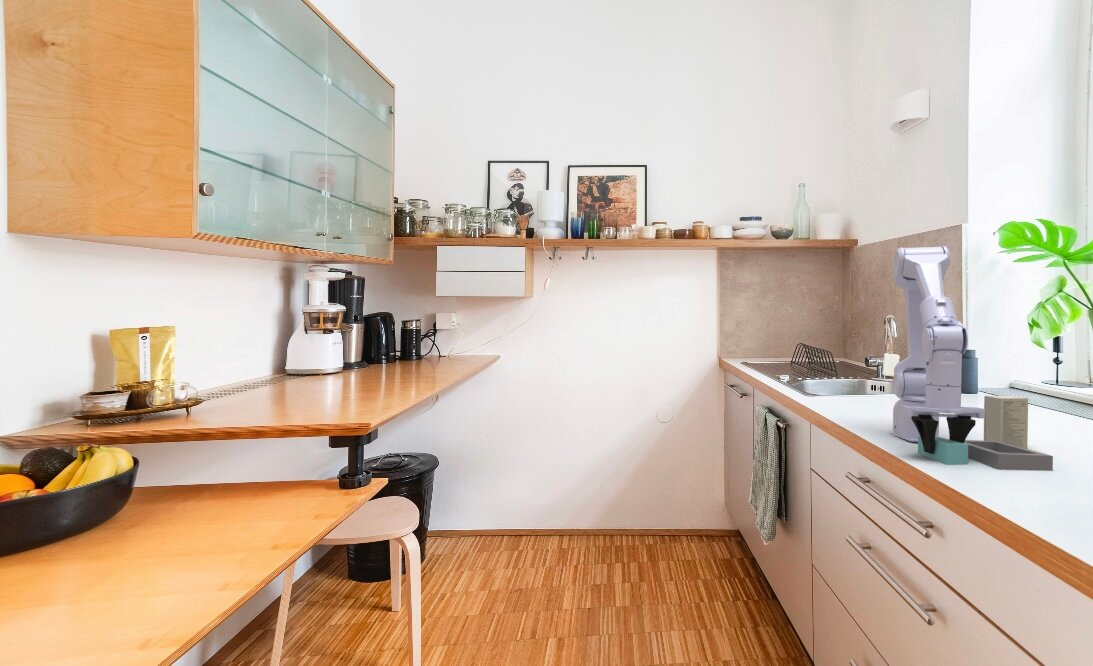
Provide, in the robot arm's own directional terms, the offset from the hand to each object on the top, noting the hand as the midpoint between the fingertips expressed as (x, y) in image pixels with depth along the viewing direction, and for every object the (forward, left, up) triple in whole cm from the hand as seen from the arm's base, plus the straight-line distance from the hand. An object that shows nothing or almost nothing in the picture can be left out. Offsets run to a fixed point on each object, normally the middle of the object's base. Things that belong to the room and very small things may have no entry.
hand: (941, 453), depth 108 cm
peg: (0, 0, -1) cm, 1 cm away
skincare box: (-9, +18, -2) cm, 21 cm away
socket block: (0, +10, -2) cm, 11 cm away
